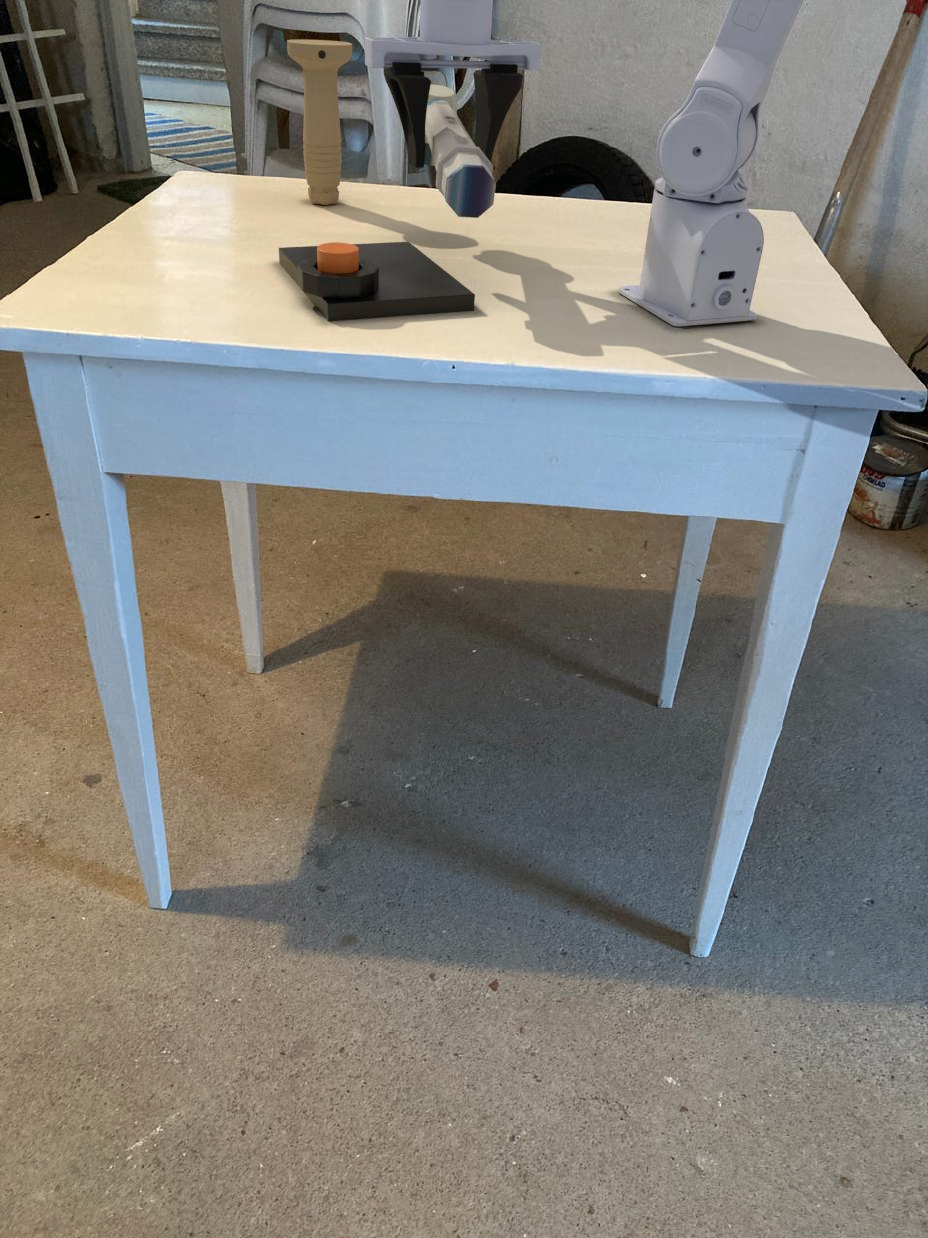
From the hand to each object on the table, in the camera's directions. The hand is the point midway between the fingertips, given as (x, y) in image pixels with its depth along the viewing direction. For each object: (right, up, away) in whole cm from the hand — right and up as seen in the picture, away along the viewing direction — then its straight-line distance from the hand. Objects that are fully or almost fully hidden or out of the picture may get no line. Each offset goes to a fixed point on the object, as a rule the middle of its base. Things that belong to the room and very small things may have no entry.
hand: (449, 164), depth 84 cm
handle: (-14, +6, +22) cm, 27 cm away
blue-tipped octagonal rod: (0, -1, +1) cm, 2 cm away
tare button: (-9, -12, -7) cm, 16 cm away
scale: (-7, -11, -2) cm, 13 cm away
